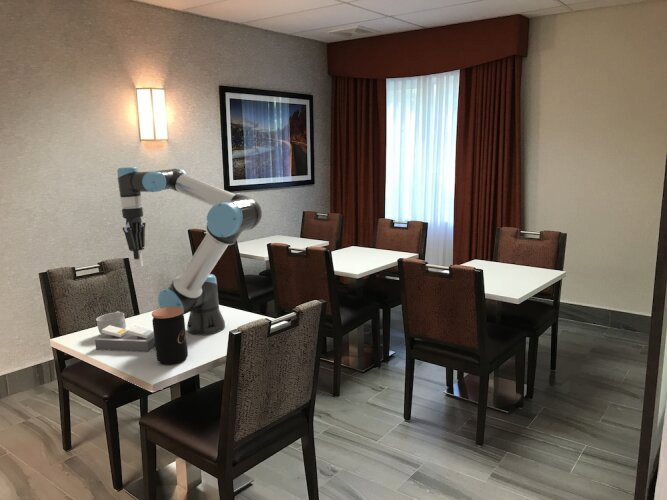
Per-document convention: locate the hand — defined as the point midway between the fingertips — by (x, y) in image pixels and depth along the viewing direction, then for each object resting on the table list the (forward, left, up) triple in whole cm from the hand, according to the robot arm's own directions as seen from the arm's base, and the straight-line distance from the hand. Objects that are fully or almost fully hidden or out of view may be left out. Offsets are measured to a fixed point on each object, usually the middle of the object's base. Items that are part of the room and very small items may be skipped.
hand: (139, 266), depth 215 cm
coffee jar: (-24, +24, -29) cm, 44 cm away
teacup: (+15, 0, -29) cm, 32 cm away
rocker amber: (+6, +13, -23) cm, 26 cm away
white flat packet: (-5, +13, -23) cm, 26 cm away
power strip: (-2, +13, -28) cm, 31 cm away
